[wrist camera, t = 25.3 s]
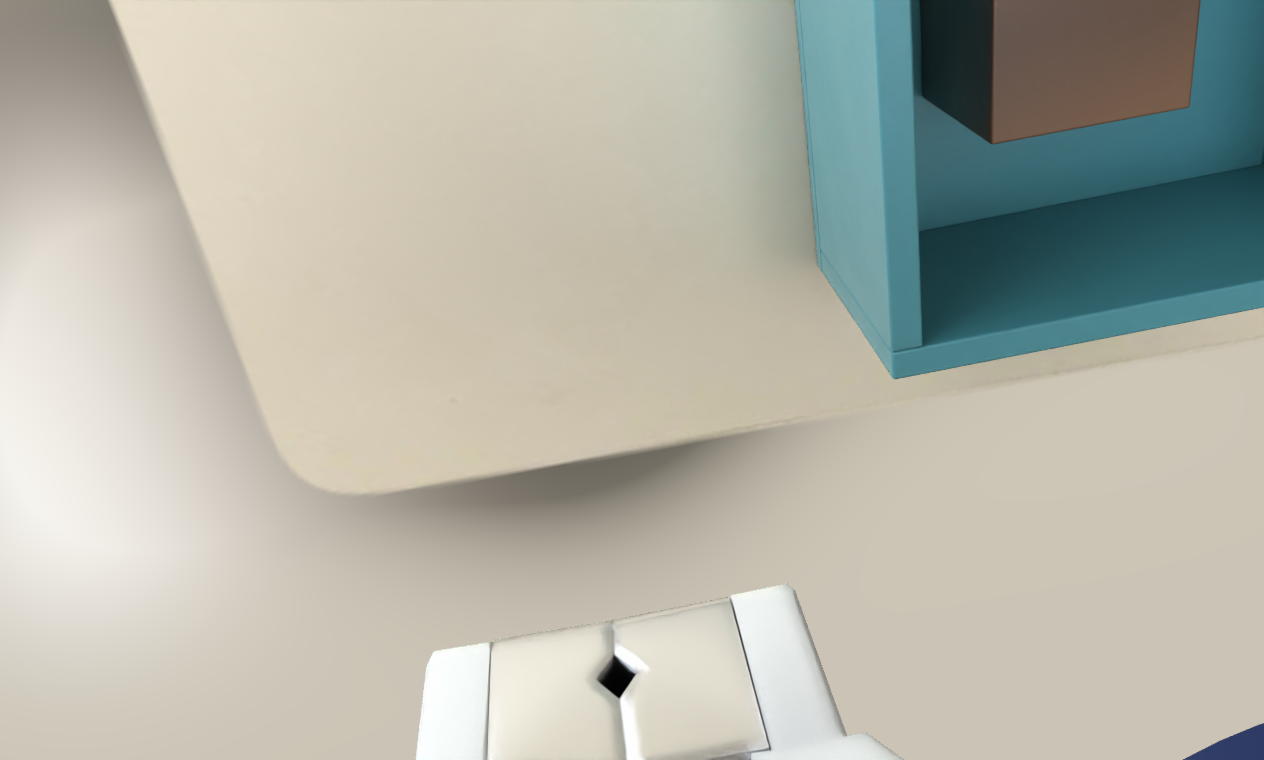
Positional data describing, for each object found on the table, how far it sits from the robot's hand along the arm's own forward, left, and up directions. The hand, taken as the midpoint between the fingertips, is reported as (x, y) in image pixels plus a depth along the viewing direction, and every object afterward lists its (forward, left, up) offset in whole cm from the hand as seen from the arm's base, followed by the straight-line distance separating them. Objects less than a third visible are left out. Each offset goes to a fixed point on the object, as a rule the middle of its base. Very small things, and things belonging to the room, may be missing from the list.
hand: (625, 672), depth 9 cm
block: (0, -13, -22) cm, 26 cm away
